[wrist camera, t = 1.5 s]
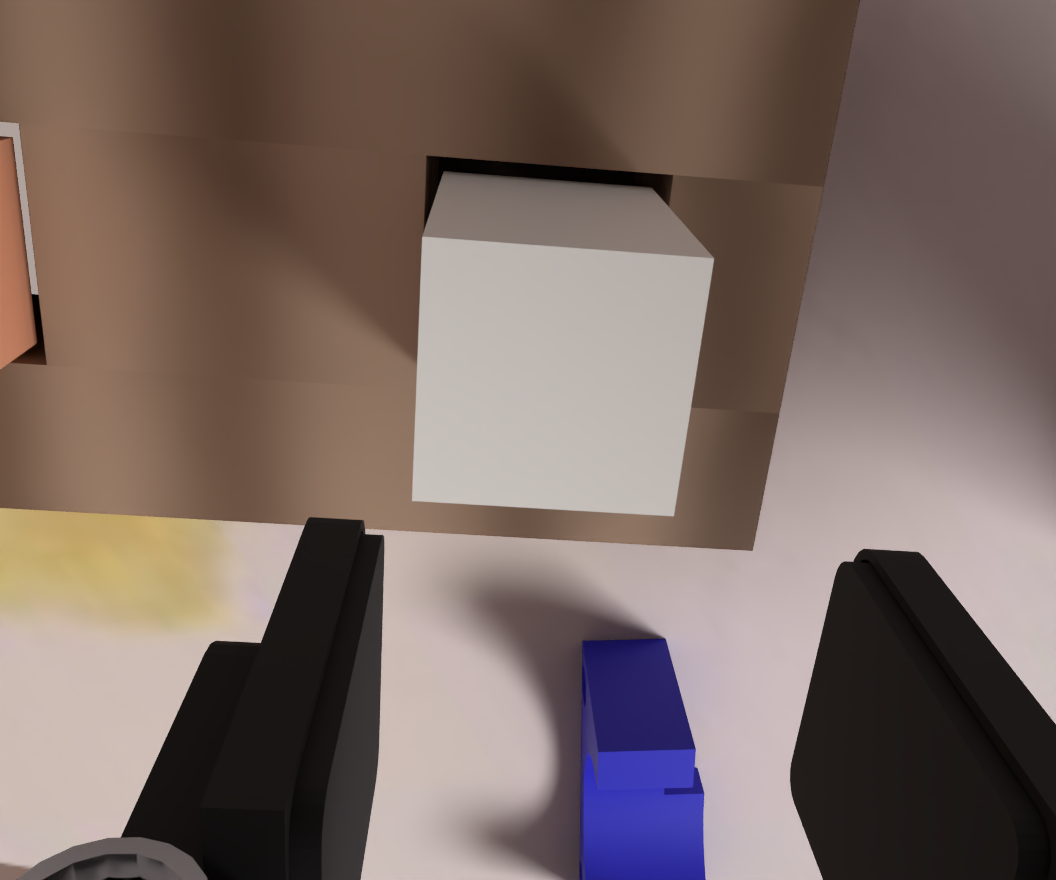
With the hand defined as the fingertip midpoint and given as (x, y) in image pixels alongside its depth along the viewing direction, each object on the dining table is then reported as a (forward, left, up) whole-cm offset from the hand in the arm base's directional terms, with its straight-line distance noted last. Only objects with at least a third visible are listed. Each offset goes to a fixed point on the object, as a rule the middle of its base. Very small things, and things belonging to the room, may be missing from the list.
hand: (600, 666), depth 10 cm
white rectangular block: (0, 0, -16) cm, 16 cm away
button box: (+8, 0, -21) cm, 23 cm away
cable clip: (-6, +20, -22) cm, 30 cm away
